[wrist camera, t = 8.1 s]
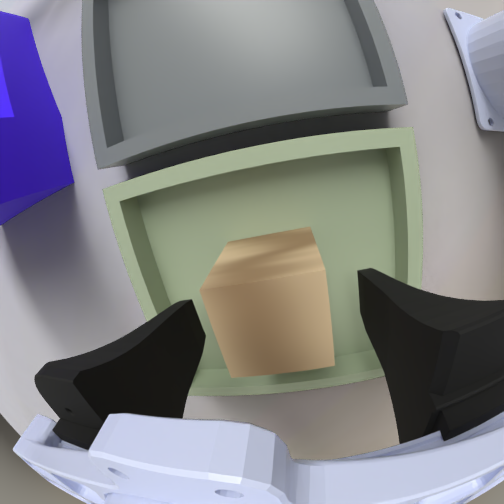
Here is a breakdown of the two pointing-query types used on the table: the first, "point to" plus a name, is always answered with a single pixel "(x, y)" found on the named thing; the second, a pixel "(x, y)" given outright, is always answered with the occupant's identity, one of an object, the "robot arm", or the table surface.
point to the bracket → (27, 124)
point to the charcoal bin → (227, 68)
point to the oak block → (270, 305)
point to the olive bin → (272, 221)
